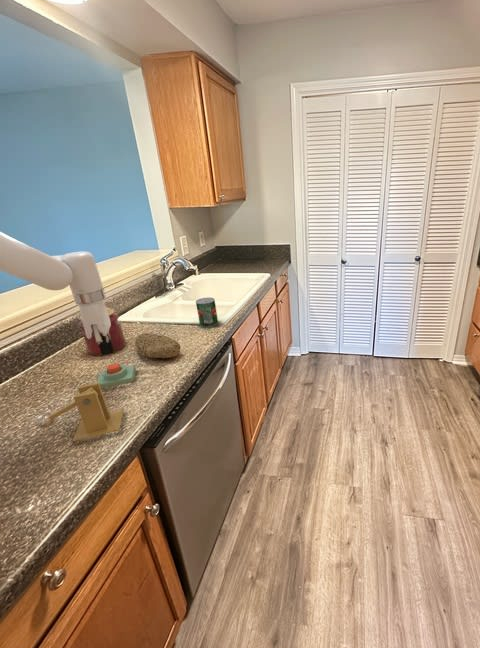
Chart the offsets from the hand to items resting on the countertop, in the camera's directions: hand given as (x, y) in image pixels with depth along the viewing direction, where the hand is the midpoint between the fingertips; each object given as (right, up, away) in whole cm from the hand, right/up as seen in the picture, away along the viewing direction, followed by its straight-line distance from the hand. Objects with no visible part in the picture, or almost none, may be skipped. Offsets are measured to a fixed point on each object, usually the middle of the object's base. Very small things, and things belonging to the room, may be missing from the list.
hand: (108, 353), depth 98 cm
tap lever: (+3, -13, -20) cm, 24 cm away
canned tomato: (+18, +8, +44) cm, 48 cm away
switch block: (0, -9, +4) cm, 10 cm away
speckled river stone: (+7, -2, +20) cm, 21 cm away
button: (0, -6, +3) cm, 7 cm away
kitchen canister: (-16, -1, +27) cm, 31 cm away
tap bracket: (+8, -17, -16) cm, 25 cm away
